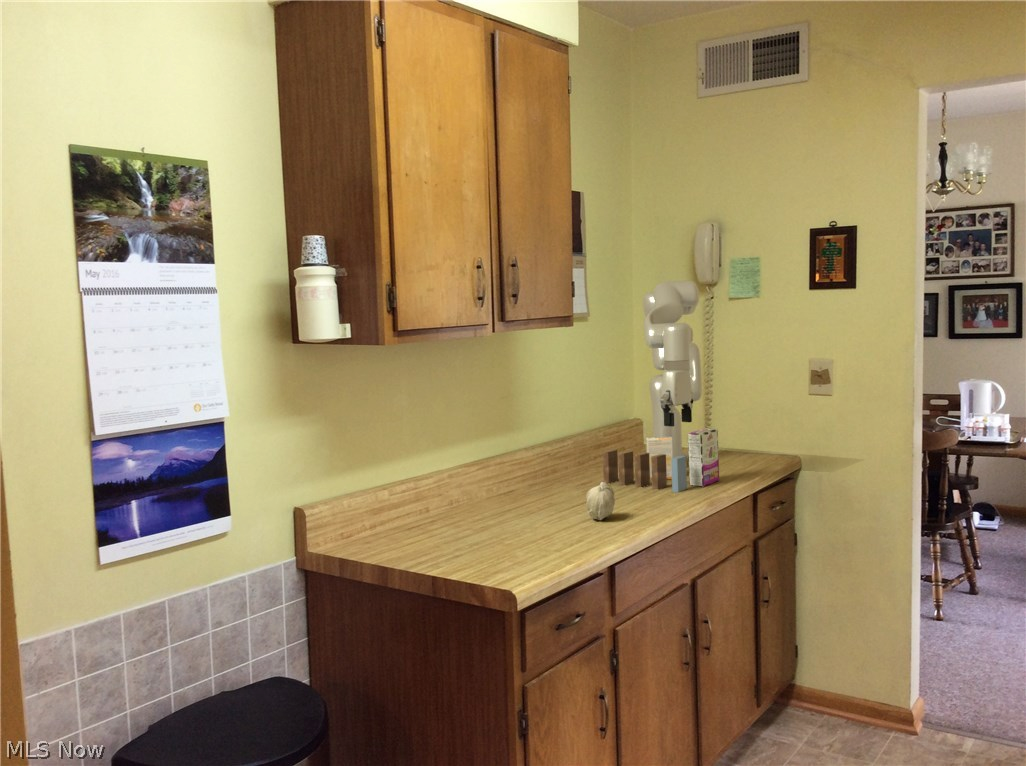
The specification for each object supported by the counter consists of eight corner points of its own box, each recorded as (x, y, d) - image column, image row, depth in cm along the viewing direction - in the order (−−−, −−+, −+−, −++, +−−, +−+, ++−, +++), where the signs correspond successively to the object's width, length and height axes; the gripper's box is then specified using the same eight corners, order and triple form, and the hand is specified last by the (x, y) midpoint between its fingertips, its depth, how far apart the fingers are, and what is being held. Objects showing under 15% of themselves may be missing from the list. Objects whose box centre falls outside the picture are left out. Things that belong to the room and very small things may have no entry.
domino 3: (635, 487, 273) (634, 454, 272) (644, 484, 277) (643, 452, 276) (641, 487, 272) (640, 455, 271) (650, 484, 275) (649, 452, 275)
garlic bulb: (609, 514, 239) (608, 477, 238) (625, 520, 231) (624, 482, 230) (578, 518, 235) (576, 481, 235) (592, 525, 227) (591, 486, 227)
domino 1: (603, 483, 281) (602, 451, 280) (613, 480, 285) (612, 449, 284) (608, 483, 280) (608, 452, 279) (618, 481, 283) (617, 449, 283)
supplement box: (672, 476, 287) (671, 436, 286) (674, 479, 282) (673, 438, 281) (646, 477, 288) (645, 437, 287) (647, 480, 283) (646, 439, 282)
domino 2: (619, 485, 277) (618, 453, 276) (628, 482, 281) (627, 450, 280) (624, 485, 276) (623, 453, 275) (633, 482, 279) (633, 451, 279)
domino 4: (652, 489, 269) (651, 456, 268) (661, 486, 273) (660, 453, 272) (657, 489, 268) (656, 456, 267) (666, 486, 271) (665, 454, 271)
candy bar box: (705, 479, 280) (704, 427, 279) (719, 481, 277) (718, 428, 276) (688, 485, 272) (687, 432, 270) (703, 487, 269) (702, 433, 267)
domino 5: (672, 491, 264) (671, 458, 264) (681, 488, 268) (680, 455, 267) (678, 492, 263) (677, 458, 262) (686, 489, 267) (686, 456, 266)
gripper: (681, 364, 271) (682, 419, 273) (649, 368, 259) (651, 427, 260) (703, 364, 266) (704, 421, 268) (672, 369, 254) (673, 428, 255)
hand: (678, 424), depth 264 cm, fingers open, 9 cm apart
